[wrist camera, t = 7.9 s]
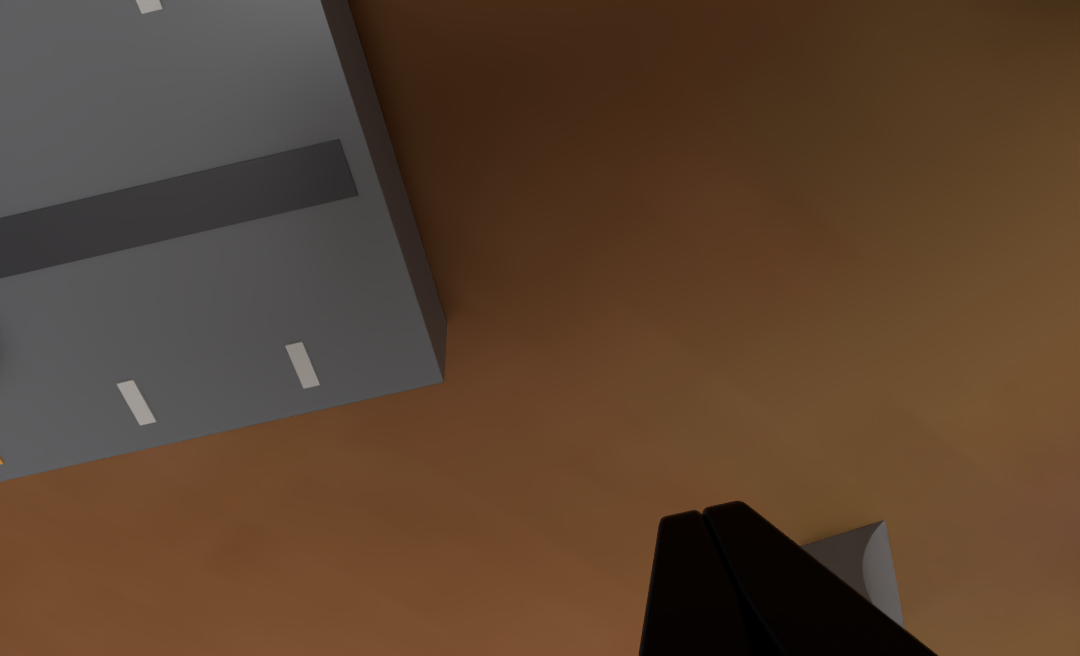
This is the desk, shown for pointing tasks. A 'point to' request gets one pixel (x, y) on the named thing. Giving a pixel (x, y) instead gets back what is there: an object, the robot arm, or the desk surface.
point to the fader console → (196, 226)
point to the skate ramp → (863, 565)
